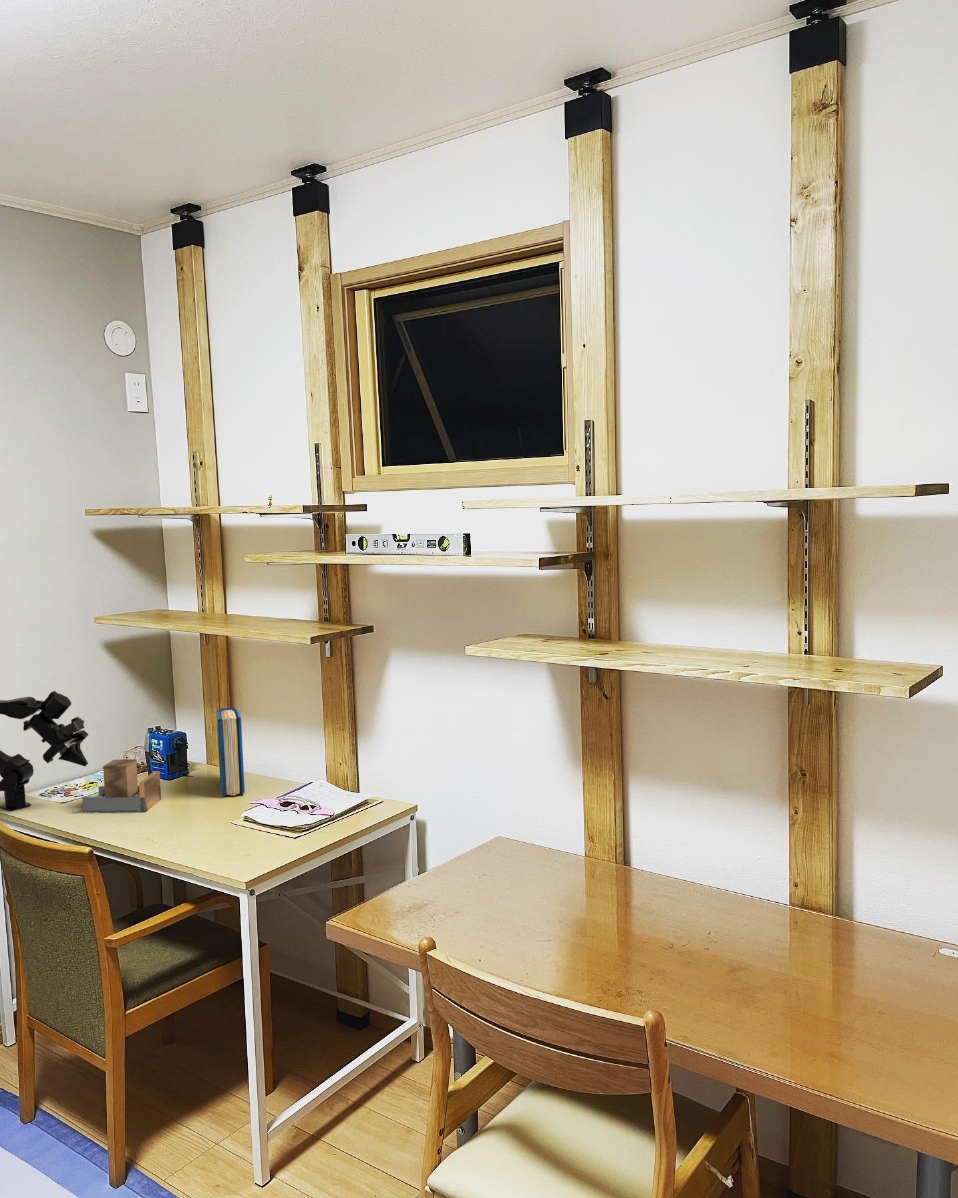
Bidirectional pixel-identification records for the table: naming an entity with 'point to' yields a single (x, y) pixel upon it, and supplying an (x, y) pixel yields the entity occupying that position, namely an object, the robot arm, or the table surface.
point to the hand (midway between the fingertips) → (86, 765)
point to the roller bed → (127, 798)
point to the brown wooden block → (120, 777)
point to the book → (230, 751)
